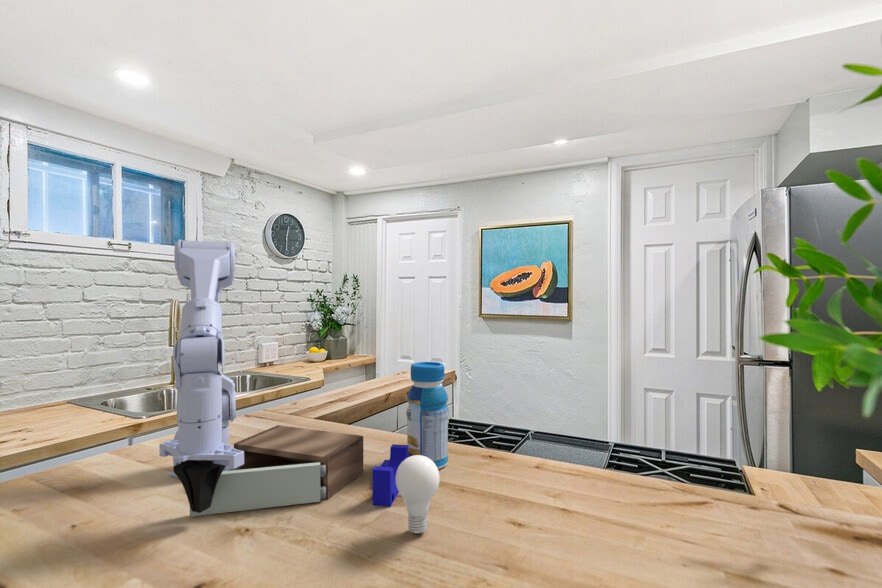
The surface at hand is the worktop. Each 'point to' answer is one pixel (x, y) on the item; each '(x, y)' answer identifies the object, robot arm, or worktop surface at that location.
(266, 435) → the cabinet
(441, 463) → the beverage bottle
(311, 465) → the cabinet door
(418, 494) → the lightbulb
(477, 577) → the worktop surface
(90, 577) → the worktop surface
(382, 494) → the cable clip
